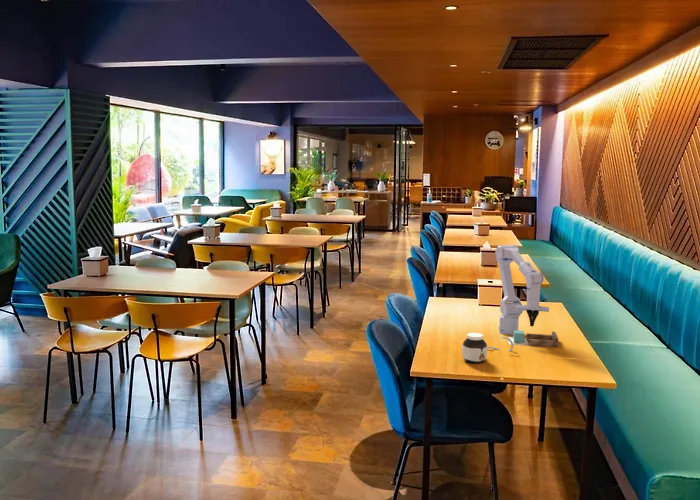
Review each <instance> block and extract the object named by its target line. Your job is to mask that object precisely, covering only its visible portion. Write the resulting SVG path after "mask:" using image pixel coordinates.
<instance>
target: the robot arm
mask: <svg viewBox="0 0 700 500" xmlns="http://www.w3.org/2000/svg"><path fill="white" fill-rule="evenodd" d="M494 253H495V258H496V262H497V264H498V268H499V274H500V279H501V280H500V281H501V285H502V291H503V298H502V299H501V300H500V301H499V302H500V309H499V310H500V313H501V315H499V325H498V333H499V334H500V335H512V336H514V330H515V331H519V319H520V317H521V315H522V313H523V312H524V311H526V313H527V316H528V320H529V325H530V327H534V325H535V323H536V320H537V318H538V316H539V314H540V312H544V313H546V312H547V313H549V312H550V307H548V306H543V305H540V300H541V299H540V297H541V284H543V282H544V275H543V272H542V271H538V270H536V269H535V268H534V267H533V266H532V264H531V262H529V261H525V259H524V258H523V256H522V255H521V254H520V249H519V248H518V246H517V245H516V244H509V245H497V246H496V249H495V252H494ZM513 262H514V263H515V264H516V265H517V266H518V270H519V272H520V273H521V275H523V276H524V280H525V283H526V285H525V286H526V288H527V289H526V291H527V292H526V305H523V304H522V302H521V298H519V297H518V296H516V292H515V288H514V282H513V276H512V271H511V266H510V265H511V263H513Z"/></svg>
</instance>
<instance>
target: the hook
mask: <svg viewBox="0 0 700 500" xmlns="http://www.w3.org/2000/svg"><path fill="white" fill-rule="evenodd" d="M500 338H501V339H504V340H505V339H506V340H507V341H508V340H509V341H510V342H511V344H510V345H511V347H510V348H509V350H507V351H508V352H512V350H513V349H514V345H513V342H512V341H511V340H510V339H509V338H507V337H506V336H500ZM487 349H492V350H497V351H501V349H500V348H497V347H495V346H487Z"/></svg>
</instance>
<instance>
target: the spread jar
mask: <svg viewBox="0 0 700 500" xmlns="http://www.w3.org/2000/svg"><path fill="white" fill-rule="evenodd" d="M461 346H462V347H461V355H462V358H463V360H464V361H465V362H466V363H469V364H482V363H483V362H485V360H486V359H487V355H488V348H487V347H488V345H487V342H486V341H485V340H484V334H482V333H478V332H469V333H467V334H466V339H464V341H463V342H462V345H461Z"/></svg>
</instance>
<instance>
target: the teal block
mask: <svg viewBox="0 0 700 500" xmlns="http://www.w3.org/2000/svg"><path fill="white" fill-rule="evenodd" d="M512 337H513V340H514V342H518V343H524V338H525V331H524V330H518V331H515V330H514V335H512Z"/></svg>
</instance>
